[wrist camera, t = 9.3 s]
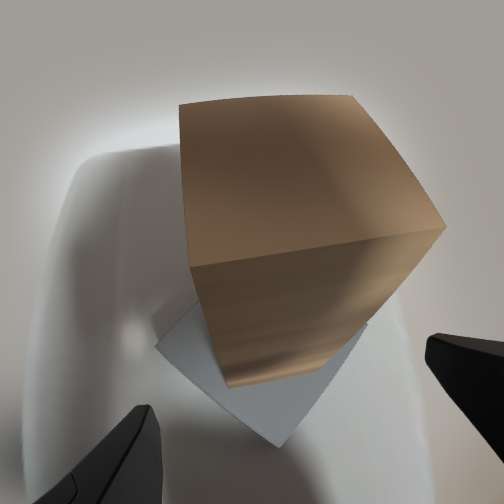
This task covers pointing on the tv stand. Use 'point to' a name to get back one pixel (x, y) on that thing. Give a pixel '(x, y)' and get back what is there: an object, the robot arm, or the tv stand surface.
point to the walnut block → (295, 227)
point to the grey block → (254, 396)
